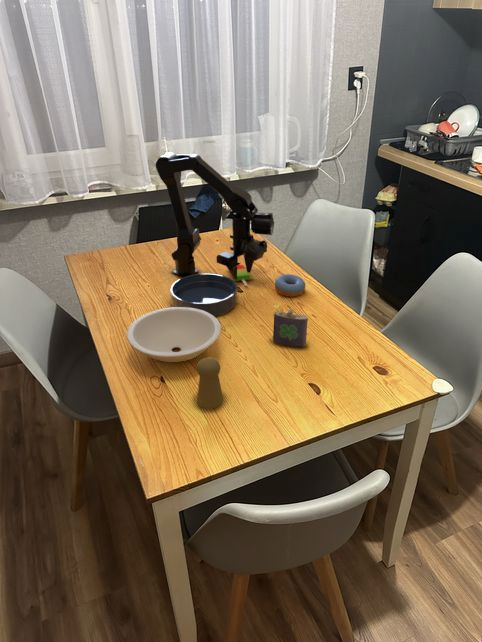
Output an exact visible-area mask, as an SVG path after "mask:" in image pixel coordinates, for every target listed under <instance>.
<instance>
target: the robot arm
mask: <svg viewBox="0 0 482 642" xmlns="http://www.w3.org/2000/svg"><path fill="white" fill-rule="evenodd" d="M155 169H156V172H157V174H158V177H159V179H160V180H161V181H162V183H163V184H164V185H165V186H166V187H165V188H166V190H167V194H168V198H169V201H170V205H171V208H172V212H173V216H174V220H175V224H176V228H177V233H176V234H177V235H176V244H177V245H176V246H177V247H176V249H174V251H173V252H172V253H171V255H170V256H171V258H172V260H173V261H174V263H175V269H174V270H172V274H175V275H177V276H180V277H181V278H183V277H186V276H189V275H194V274H198V273H199V269H196V261H195V256H193V254H194V253H195V252H196V251H197V249H198V248H199V247H200V245H201V240H202V237H201V235H200V229H199V228H195V227H194V226H193V224H192V222H191V219H190V215H189V210H188V206H187V202H186V199H185V194H184V190H183V186H182V182H181V180H182V172H186V171H192V172H193V173H194V174H195V175H196V176H198V177H199V178H200V179H201V180H202V181H204V182H205V183H206V184H207V185H208V186H210V188H212V189H213V190H214V191H215V192H217V193H218V194H219V195H220V196H221V197H222V199H223V200H224V202H225V204H226V205H227V206H228V208H229V209H230V211H229V212H228V214H227V215H226V216H225V219H226V220H231V222H232V226H231V227H232V233H231V234H230V235H229V239H232V245H231V246H229V250H230V251H233V252H228V251H223V252H221V253H219V254H218V255H216V264H219V265H222V266H225V267H226V268H227V269H228V272H229V274H230V276H231V275H232V276H231V277H232V280H233V281H234V280H236V279H237V267H238V265H241V263H240V262H239V258H240V257H242V256H243V258H244V264H245V269H246V270H247V272H248V273H249V274H250V273H251V271H252V269H253V266H254V263H255V262H257V261H258V260H260V259H262V258H263V257H264V254H265V253H267V252H268V242H267V241H266V240H265V239H263V240H260V239H259V240H258V239H255V238H254V237H255V236H254V234H255V235H263V236H273V234H274V230H275V221H274V220H275V219H274V216H273V215H274V213H273V212H259V209H258V208H257V206H256V205H255V203H254V202H253V200H252V195H251V194H250V192H248V191H246V190H245V189H243V188H242V187H240V186H237V185H234V184H233V183H231V182H230V181H228V180H227V179H226V178H225V177H224V176H222V174H220V173H219V172H218V171H216V169H214V168H213V167H212V166H211V165H210V164H208V163H207V162H206V161H205V160H204V159H203V158H202V157H201V156H200V155H199V154H197V153H194V154H185V153H184V154H182V153H181V154H176V153H175V152H171V151H169V152H167V153H165V154H164V155H161V156H160V157H159V158H157V160H156V162H155ZM251 232H252V233H253V234H251Z"/></svg>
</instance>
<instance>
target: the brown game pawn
mask: <svg viewBox="0 0 482 642" xmlns="http://www.w3.org/2000/svg"><path fill="white" fill-rule="evenodd" d="M196 372H197V374H198V375H199V377H198V389H197V397H196V398H197V399H196V401H197V405H198V406H199V407H201V408H202V409H207V410H211V409H216V408H219V407H220V406H221V405H222V404H223V403H224V396H223V395H224V394H223V391H222V385H221V380H220V376H219V374H220V372H221V363H220V362H219V361H218V360H217V359H216V358H214V357H204V358H202V359H200V360H199V361H198V362H197V365H196Z"/></svg>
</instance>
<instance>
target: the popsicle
mask: <svg viewBox="0 0 482 642" xmlns="http://www.w3.org/2000/svg"><path fill="white" fill-rule="evenodd" d="M230 276H231V277H232V275H231V274H230ZM250 280H251V275H250V273H248V272H247V269H246V266H244V265H243V264H240V265H238V267H237V279H236V280H234V279H233V281H234V282H242V284H243V285H244V287H249V284H248V283H247V281H250Z"/></svg>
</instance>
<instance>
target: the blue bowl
mask: <svg viewBox="0 0 482 642" xmlns="http://www.w3.org/2000/svg"><path fill="white" fill-rule="evenodd" d="M237 285H238V284H237V283H236V281H234V279H231V278H230V277H228V276H225V275H221V274H218V273H217V274H216V273H195V274H192V275H189V276H186V277H180V278H179V279H177V280H176V281H174V282H173V283H172V285H171V286H170V291H169V293H170V301H171V305H172V306H171V307H189V308H195V309H199V310H203V311H205V312H208V313H210V314H211V315H213V316H214V317H215V318H216V317H218V316H222V315H224V314H226V313H228V312H230V311H231V310H233V309H234V308H235V306H236V305H237V303H238V286H237Z"/></svg>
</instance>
